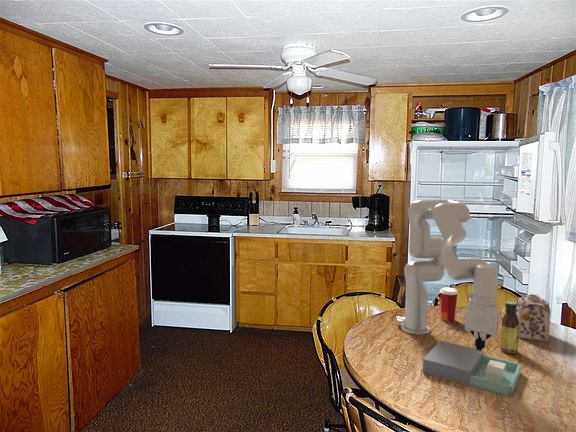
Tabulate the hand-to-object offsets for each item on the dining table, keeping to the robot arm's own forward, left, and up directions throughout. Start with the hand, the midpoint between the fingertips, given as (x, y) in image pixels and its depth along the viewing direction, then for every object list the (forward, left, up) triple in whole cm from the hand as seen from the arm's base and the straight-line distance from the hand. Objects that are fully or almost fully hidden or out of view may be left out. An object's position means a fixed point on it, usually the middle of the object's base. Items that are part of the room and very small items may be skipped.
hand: (479, 349), depth 150 cm
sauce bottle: (+6, +27, -9) cm, 30 cm away
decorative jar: (+11, +51, -9) cm, 53 cm away
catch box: (+6, -1, -9) cm, 11 cm away
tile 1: (+6, -1, -4) cm, 7 cm away
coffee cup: (-24, +49, -9) cm, 56 cm away
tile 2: (+5, -1, -6) cm, 8 cm away
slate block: (-8, -1, -9) cm, 12 cm away
